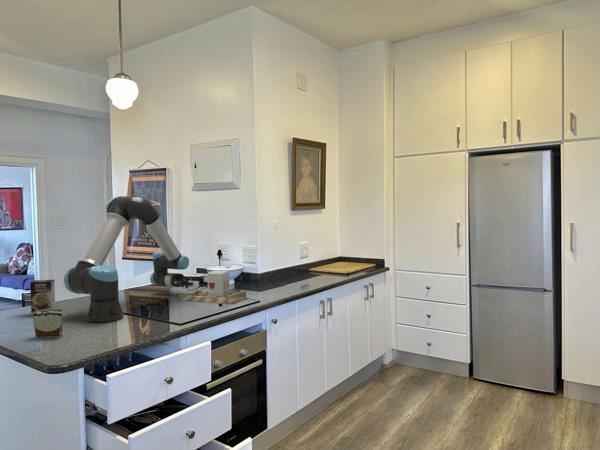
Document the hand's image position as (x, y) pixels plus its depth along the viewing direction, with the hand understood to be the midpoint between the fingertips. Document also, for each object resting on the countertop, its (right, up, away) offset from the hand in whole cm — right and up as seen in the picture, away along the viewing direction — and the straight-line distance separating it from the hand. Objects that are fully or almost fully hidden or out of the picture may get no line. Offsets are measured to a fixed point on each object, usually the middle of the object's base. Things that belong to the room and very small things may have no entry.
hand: (206, 281), depth 238 cm
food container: (-48, -13, -63) cm, 80 cm away
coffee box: (-72, -12, -27) cm, 78 cm away
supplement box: (+7, -9, -3) cm, 12 cm away
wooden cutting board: (+5, -9, +1) cm, 10 cm away
